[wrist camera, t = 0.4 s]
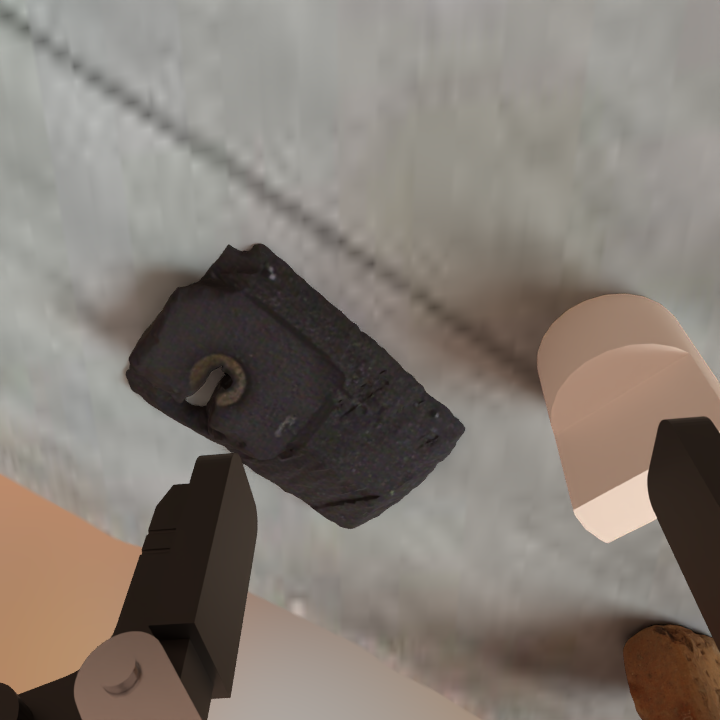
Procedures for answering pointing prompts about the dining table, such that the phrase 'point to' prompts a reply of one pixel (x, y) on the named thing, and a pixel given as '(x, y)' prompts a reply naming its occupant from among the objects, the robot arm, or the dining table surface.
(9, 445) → the dining table surface
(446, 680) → the dining table surface
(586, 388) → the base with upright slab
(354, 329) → the dark slate chunk
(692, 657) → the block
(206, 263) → the dining table surface
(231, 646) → the robot arm
